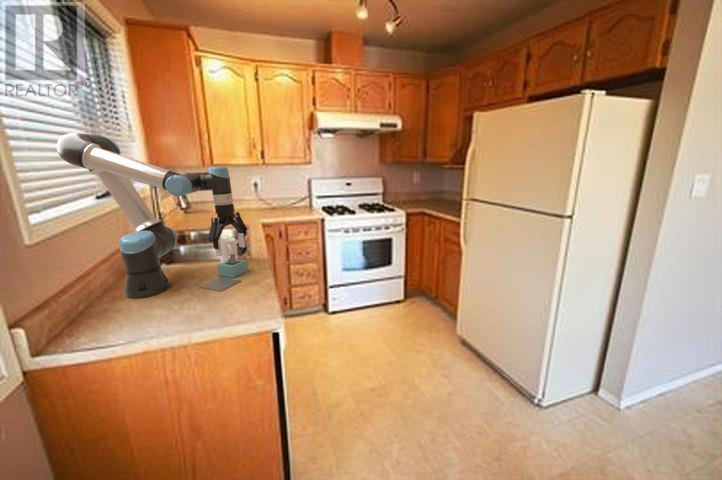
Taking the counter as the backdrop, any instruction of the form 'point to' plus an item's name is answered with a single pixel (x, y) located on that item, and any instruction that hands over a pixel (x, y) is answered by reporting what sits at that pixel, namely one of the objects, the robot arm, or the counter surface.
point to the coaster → (220, 284)
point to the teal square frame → (232, 268)
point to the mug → (228, 248)
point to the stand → (232, 263)
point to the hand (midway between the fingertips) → (231, 251)
